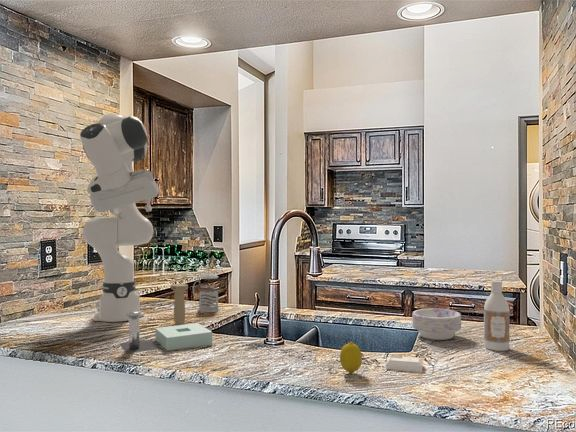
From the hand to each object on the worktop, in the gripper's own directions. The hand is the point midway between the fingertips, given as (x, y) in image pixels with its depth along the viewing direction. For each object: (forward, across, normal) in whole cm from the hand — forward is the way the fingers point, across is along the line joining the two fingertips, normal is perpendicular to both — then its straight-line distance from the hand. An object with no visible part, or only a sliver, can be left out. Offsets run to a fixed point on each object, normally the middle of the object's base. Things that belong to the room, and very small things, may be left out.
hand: (135, 214), depth 155 cm
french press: (+63, 0, -22) cm, 67 cm away
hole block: (+36, -4, +23) cm, 43 cm away
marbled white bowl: (+60, -82, +25) cm, 104 cm away
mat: (+31, +8, +25) cm, 41 cm away
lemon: (+33, -53, +53) cm, 82 cm away
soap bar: (+40, -66, +50) cm, 92 cm away
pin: (+29, +8, +28) cm, 41 cm away
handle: (+46, +3, +4) cm, 46 cm away
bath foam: (+56, -96, +38) cm, 117 cm away
